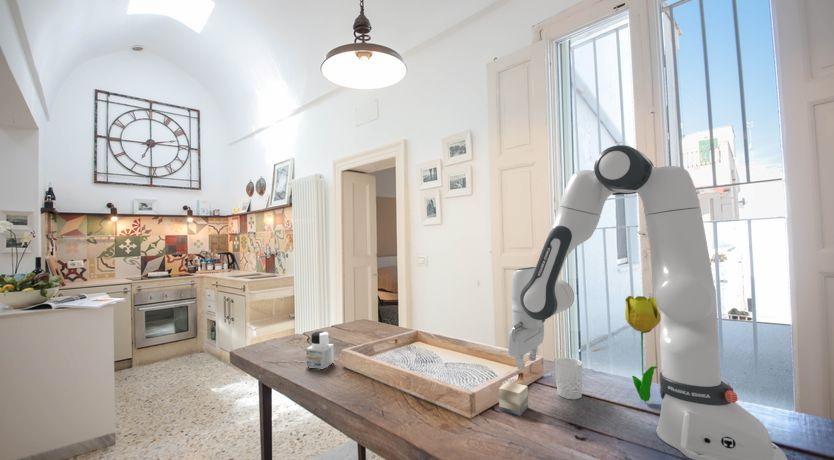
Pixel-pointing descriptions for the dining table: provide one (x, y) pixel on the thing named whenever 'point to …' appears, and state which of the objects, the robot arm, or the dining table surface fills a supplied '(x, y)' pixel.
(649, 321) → the flower
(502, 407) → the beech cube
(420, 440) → the dining table surface
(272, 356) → the dining table surface
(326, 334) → the container
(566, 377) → the white cup
